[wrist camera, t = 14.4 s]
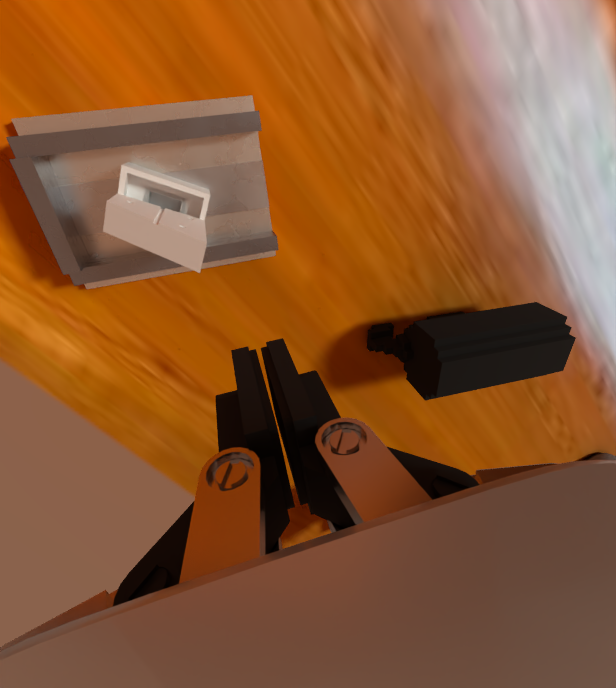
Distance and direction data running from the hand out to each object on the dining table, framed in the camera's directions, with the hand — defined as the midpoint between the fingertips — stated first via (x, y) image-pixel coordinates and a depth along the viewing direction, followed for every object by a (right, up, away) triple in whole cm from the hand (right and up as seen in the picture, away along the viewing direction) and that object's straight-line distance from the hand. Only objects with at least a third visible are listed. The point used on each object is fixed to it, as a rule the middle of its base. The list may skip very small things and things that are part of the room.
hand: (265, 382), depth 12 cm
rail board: (-10, +13, +17) cm, 24 cm away
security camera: (+17, +4, +31) cm, 35 cm away
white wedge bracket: (-10, +12, +16) cm, 23 cm away
